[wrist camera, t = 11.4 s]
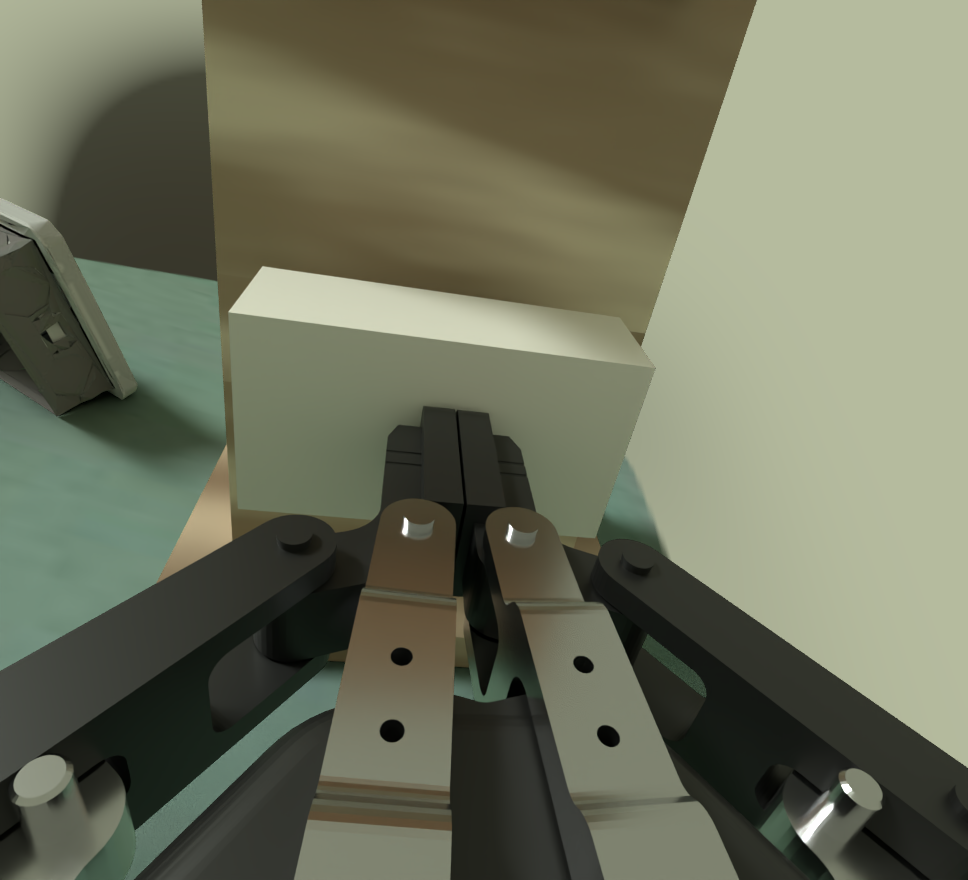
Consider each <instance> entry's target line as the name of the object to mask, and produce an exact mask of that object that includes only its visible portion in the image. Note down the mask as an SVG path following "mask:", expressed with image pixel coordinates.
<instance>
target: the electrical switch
mask: <svg viewBox="0 0 968 880" xmlns="http://www.w3.org/2000/svg"><path fill="white" fill-rule="evenodd" d="M22 368H25V369H22ZM19 369H20V370H19ZM2 370H3V371H2ZM0 379H2V380H3V381H5V382H6V383H8V384H9V385H11V386H12V387H14V388H15V389H17V390H18V391H20V392H21V393H23V394H24V395H26V396H27V397H29V398H31V399H32V400H34V401H35V402H37V403H38V404H40V405H41V406H43V407H44V408H46V409H47V410H49V411H50V412H52V413H53V414H55V415H56V416H59V415H61V414H63V413H64V412H66V411H68V410H69V409H71V408H73V407H75V406H76V405H78V404H80V403H82V402H84V401H87V400H90V399H93V398H94V397H96V396H97V395H99V394H100V393H102V392H104V391H109V392H110V393H112V394H114V395H115V396H117V397H118V398H120V399H122V400H123V399H124V398H126V397H127V396H129V395H130V394H132V393H133V392H135V391H136V390H137V385H138V384H137V382H136V380H135V378H134V376H133V374H132V372H131V370H130V368H129V366H128V364H127V362H126V360H125V358H124V356H123V354H122V352H121V350H120V348H119V346H118V344H117V342H116V340H115V338H114V336H113V334H112V332H111V330H110V328H109V326H108V324H107V322H106V320H105V318H104V316H103V314H102V312H101V310H100V308H99V306H98V304H97V302H96V300H95V298H94V296H93V294H92V292H91V290H90V288H89V286H88V285H87V283H86V281H85V279H84V277H83V275H82V273H81V271H80V269H79V267H78V265H77V263H76V261H75V260H74V258H73V256H72V254H71V252H70V250H69V248H68V246H67V244H66V242H65V240H64V238H63V236H62V235H61V234H60V233H59V232H58V230H57V229H56V228H55V227H54V226H53V225H52V224H51V222H50V221H49V220H47V219H45V218H43V217H40V216H38V215H36V214H34V213H32V212H30V211H28V210H25V209H23V208H21V207H19V206H17V205H15V204H13V203H11V202H8V201H6V200H4V199H2V198H0ZM38 390H40V392H41V393H40V392H39V391H38Z"/></svg>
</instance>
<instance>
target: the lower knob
mask: <svg viewBox="0 0 968 880" xmlns="http://www.w3.org/2000/svg"><path fill="white" fill-rule="evenodd" d="M228 318H229V339H230V359H231V380H232V401H233V421H234V442H235V463H236V484H237V504H238V509H245V510H257V511H269V512H281V513H293V514H306V515H318V516H330V517H342V518H354V519H366V520H373V519H374V518H375V517H376V516H377V515H378V513H379V511H380V507H381V496H382V486H383V477H384V467H385V458H386V448H387V439H388V435H389V434H390V433H391V432H392V431H393V430H394V429H395V428H396V427H397V426H398V425H406V426H416V427H420V423H421V416H422V409H423V406H430V407H439V408H448V409H455V412H456V411H457V410H466V411H475V412H484V413H489V417H490V422H491V427H492V433H493V435H502V436H509V437H510V438H511V439H512V440H513V441H514V442H515V444H516V445H517V446H518V447H519V448H520V449H521V452H522V456H523V460H524V466H525V468H526V472H527V478H528V480H529V484H530V488H531V492H532V496H533V500H534V504H535V508H536V512H537V513H539V514H541V515H543V516H544V517H545V518H547V519H548V520H549V521H550V522H551V523H552V524H553V525H554V527H555V528H556V530H557V533H558V535H560V536H572V537H584V538H595V537H596V535H597V532H598V529H599V526H600V523H601V521H602V518H603V515H604V512H605V509H606V507H607V504H608V501H609V498H610V495H611V492H612V490H613V487H614V484H615V481H616V478H617V476H618V473H619V470H620V467H621V464H622V462H623V459H624V456H625V453H626V450H627V447H628V444H629V442H630V439H631V436H632V433H633V431H634V428H635V425H636V422H637V419H638V416H639V413H640V411H641V408H642V405H643V402H644V399H645V397H646V394H647V391H648V388H649V386H650V383H651V380H652V377H653V374H654V371H655V369H656V368H655V366H654V365H653V364H652V362H651V361H650V359H649V358H648V356H647V355H646V354H645V352H644V351H643V349H642V348H641V347H640V345H639V344H638V342H637V341H636V340H635V338H634V337H633V335H632V334H631V332H630V331H629V330H628V328H627V327H626V325H625V324H624V323H623V321H622V320H621V318H620V317H613V316H606V315H599V314H592V313H585V312H578V311H571V310H564V309H557V308H550V307H543V306H536V305H529V304H522V303H515V302H508V301H501V300H494V299H487V298H480V297H473V296H466V295H459V294H452V293H445V292H438V291H431V290H424V289H417V288H410V287H403V286H396V285H389V284H382V283H375V282H369V281H362V280H355V279H348V278H341V277H334V276H327V275H320V274H313V273H306V272H299V271H292V270H285V269H278V268H271V267H264V266H262V268H261V269H260V270H259V272H258V273H257V274H256V276H255V277H254V278H253V280H252V281H251V282H250V284H249V285H248V286H247V288H246V289H245V290H244V292H243V293H242V294H241V296H240V297H239V298H238V300H237V301H236V302H235V304H234V305H233V306H232V308H231V309H230V310H229V312H228Z"/></svg>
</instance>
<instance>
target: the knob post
mask: <svg viewBox="0 0 968 880" xmlns="http://www.w3.org/2000/svg"><path fill="white" fill-rule="evenodd" d="M756 1H757V0H202V10H203V28H204V46H205V63H206V80H207V81H206V82H207V99H208V117H209V134H210V152H211V171H212V187H213V205H214V223H215V240H216V259H217V277H218V295H219V313H220V331H221V348H222V366H223V384H224V402H225V419H226V437H227V444H226V446H225V448H224V450H223V452H222V454H221V456H220V458H219V460H218V462H217V464H216V466H215V468H214V470H213V472H212V474H211V476H210V478H209V480H208V482H207V484H206V486H205V488H204V490H203V492H202V494H201V496H200V498H199V500H198V502H197V504H196V506H195V508H194V510H193V512H192V514H191V516H190V518H189V520H188V522H187V524H186V526H185V528H184V530H183V532H182V534H181V536H180V538H179V540H178V542H177V544H176V546H175V547H174V549H173V551H172V553H171V555H170V557H169V559H168V561H167V563H166V565H165V567H164V569H163V571H162V573H161V575H160V577H159V579H158V581H157V583H158V582H160V581H162V580H163V579H165V578H167V577H169V576H171V575H172V574H174V573H176V572H178V571H179V570H181V569H183V568H185V567H187V566H188V565H190V564H192V563H194V562H195V561H197V560H199V559H201V558H203V557H204V556H206V555H208V554H210V553H212V552H213V551H215V550H217V549H219V548H220V547H222V546H224V545H226V544H228V543H229V542H231V541H233V540H235V539H236V538H238V537H240V536H242V535H244V534H245V533H247V532H249V531H251V530H252V529H254V528H256V527H258V526H260V525H261V524H263V523H265V522H267V521H269V520H271V519H274V518H277V517H280V516H285V515H306V514H293V513H281V512H269V511H257V510H245V509H238V504H237V484H236V463H235V442H234V421H233V401H232V380H231V359H230V339H229V318H228V312H229V310H230V309H231V308H232V306H233V305H234V304H235V302H236V301H237V300H238V298H239V297H240V296H241V294H242V293H243V292H244V290H245V289H246V288H247V286H248V285H249V284H250V282H251V281H252V280H253V278H254V277H255V276H256V274H257V273H258V272H259V270H260V269H261V268H262V266H264V267H271V268H278V269H285V270H292V271H299V272H306V273H313V274H320V275H327V276H334V277H341V278H348V279H355V280H362V281H369V282H375V283H382V284H389V285H396V286H403V287H410V288H417V289H424V290H431V291H438V292H445V293H452V294H459V295H466V296H473V297H480V298H487V299H494V300H501V301H508V302H515V303H522V304H529V305H536V306H543V307H550V308H557V309H564V310H571V311H578V312H585V313H592V314H599V315H606V316H613V317H620V318H621V320H622V321H623V323H624V324H625V325H626V327H627V328H628V330H629V331H630V332H631V334H632V335H633V337H634V338H635V340H636V341H637V342H638V344H639V345H640V347H641V345H642V342H643V339H644V336H645V333H646V330H647V327H648V324H649V321H650V318H651V315H652V312H653V309H654V306H655V303H656V300H657V297H658V294H659V291H660V288H661V285H662V282H663V279H664V276H665V273H666V270H667V267H668V264H669V261H670V258H671V255H672V252H673V249H674V246H675V243H676V240H677V237H678V234H679V231H680V228H681V225H682V222H683V219H684V216H685V213H686V210H687V207H688V204H689V201H690V198H691V195H692V192H693V189H694V186H695V183H696V180H697V177H698V174H699V171H700V168H701V165H702V162H703V160H704V156H705V154H706V151H707V147H708V145H709V142H710V138H711V136H712V132H713V129H714V127H715V123H716V121H717V118H718V115H719V111H720V109H721V105H722V103H723V100H724V97H725V94H726V91H727V88H728V85H729V82H730V79H731V76H732V73H733V70H734V67H735V63H736V61H737V58H738V55H739V52H740V49H741V46H742V43H743V40H744V37H745V34H746V31H747V28H748V25H749V22H750V19H751V16H752V13H753V10H754V6H755V4H756ZM308 516H312V517H315V518H318V519H320V520H322V521H324V522H326V523H327V524H328V525H330V526H331V527H332V529H333V530H334V532H335V533H337V532H344V531H349V530H354V529H357V528H360V527H362V526H364V525H366V524H368V523H369V522H371V521H372V520H366V519H354V518H342V517H330V516H318V515H308ZM559 538H560V540H561V543H562V544H564V545H566V546H569V547H571V548H574V549H577V550H581V551H584V552H587V553H590V554H594V555H597V556H598V553H599V550H600V548H601V547H600V544H599V541H598V538H597V535H596V537H595V538H584V537H572V536H560V535H559ZM453 598H456V601H457V614H456V641H455V667H469V663H468V657H467V651H466V645H465V639H464V633H463V624H464V619H465V613H464V603H463V597H456V596H453ZM347 652H348V649H347V650H343V651H339V652H335V653H330V655H329V659H328V661H341V662H345V661H346V657H347Z"/></svg>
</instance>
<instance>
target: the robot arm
mask: <svg viewBox="0 0 968 880" xmlns="http://www.w3.org/2000/svg"><path fill="white" fill-rule="evenodd" d="M453 596H456V597H463V603H464V613H465V619H464V624H463V633H464V639H465V645H466V651H467V657H468V663H469V670H470V676H471V682H472V688H473V694H474V700H471V699H467V698H463V697H460V696H456V695H453V693H454V667H455V641H456V614H457V601H456V598H453ZM647 634H649V635H650V636H651V637H652V638H654V639H655V640H656V641H657V642H659V643H660V644H661V645H662V646H664V647H665V648H666V649H667V650H669V651H670V652H671V653H672V654H674V655H675V656H676V657H677V658H679V659H680V660H681V661H682V662H684V663H685V664H686V665H687V666H689V667H690V668H691V669H692V670H694V671H695V672H696V673H697V674H698V675H699V676H700V678H701V679H702V681H703V683H704V685H705V687H706V692H707V696H706V698H704V697H703V696H701V695H700V694H698V693H697V692H696V691H695V690H693V689H692V688H691V687H690V686H688V685H687V684H686V683H685V682H684V681H682V680H681V679H680V678H679V677H678V676H676V675H675V674H674V673H673V672H671V671H670V670H669V669H668V668H667V667H665V666H664V665H663V664H662V663H660V662H659V661H658V660H657V659H656V658H654V657H653V656H652V655H651V654H649V653H648V652H647V651H646V650H645V649H643V648H642V645H643V643H644V641H645V639H646V636H647ZM347 649H348V652H347V657H346V661H345V666H344V670H343V675H342V679H341V684H340V688H339V693H338V697H337V702H336V706H335V708H334V709H331V710H328V711H325V712H323V713H321V714H318V715H316V716H314V717H312V718H310V719H308V720H306V721H305V722H303V723H301V724H300V725H298V726H296V727H295V728H293V729H292V730H290V731H289V732H288V733H286V734H285V735H284V736H282V737H281V738H280V739H278V740H277V741H276V742H275V743H274V744H273V745H272V746H271V747H269V748H268V749H267V750H266V751H265V752H264V753H263V754H262V755H261V756H260V757H259V758H258V759H257V760H256V761H255V762H254V763H253V764H252V765H251V766H250V767H249V768H248V769H247V770H246V771H245V772H244V773H243V774H242V775H241V776H240V777H239V778H238V779H237V780H236V781H235V782H234V783H232V784H231V785H230V786H229V787H228V788H227V789H226V790H225V791H224V792H223V793H222V794H221V795H220V796H219V797H218V798H217V799H216V800H215V801H214V802H213V803H212V804H211V805H210V806H209V807H208V808H207V809H206V810H205V811H204V812H203V813H202V814H201V815H200V816H199V817H198V818H197V819H196V820H194V821H193V822H192V823H191V824H190V825H189V826H188V827H187V828H186V829H185V830H184V831H183V832H182V833H181V834H180V835H179V836H178V837H177V838H176V839H175V840H174V841H173V842H172V843H171V844H170V845H169V846H168V847H167V848H166V849H165V850H164V851H163V852H162V853H161V854H160V855H159V856H158V857H156V858H155V859H154V860H153V861H152V862H151V863H150V864H149V865H148V866H147V867H146V868H145V869H144V870H143V871H142V872H141V873H140V874H139V875H138V876H137V877H136V878H135V879H134V880H968V768H967V767H966V766H964V765H963V764H961V763H960V762H958V761H957V760H955V759H954V758H953V757H951V756H950V755H948V754H947V753H945V752H944V751H943V750H941V749H940V748H938V747H937V746H935V745H934V744H933V743H931V742H929V741H928V740H927V739H925V738H924V737H923V736H921V735H920V734H918V733H917V732H915V731H914V730H912V729H911V728H910V727H908V726H906V725H905V724H904V723H903V722H901V721H899V720H898V719H897V718H895V717H894V716H892V715H891V714H890V713H888V712H887V711H885V710H884V709H882V708H881V707H879V706H878V705H877V704H875V703H874V702H872V701H871V700H870V699H868V698H867V697H865V696H864V695H862V694H861V693H860V692H858V691H857V690H855V689H854V688H852V687H851V686H849V685H848V684H847V683H845V682H844V681H842V680H841V679H839V678H838V677H837V676H835V675H834V674H832V673H831V672H829V671H828V670H827V669H825V668H824V667H822V666H821V665H819V664H818V663H817V662H815V661H814V660H812V659H811V658H809V657H808V656H807V655H805V654H804V653H802V652H801V651H799V650H798V649H796V648H795V647H793V646H792V645H790V644H789V643H788V642H786V641H785V640H784V639H782V638H780V637H779V636H778V635H776V634H775V633H773V632H772V631H771V630H769V629H768V628H766V627H765V626H764V625H762V624H761V623H759V622H758V621H756V620H755V619H753V618H752V617H750V616H749V615H747V614H746V613H745V612H743V611H742V610H741V609H739V608H738V607H736V606H735V605H733V604H732V603H731V602H729V601H728V600H726V599H725V598H723V597H722V596H721V595H719V594H718V593H716V592H715V591H713V590H712V589H710V588H709V587H708V586H706V585H705V584H703V583H702V582H700V581H699V580H698V579H696V578H694V577H693V576H692V575H690V574H689V573H688V572H686V571H685V570H683V569H682V568H680V567H679V566H678V565H676V564H675V563H673V562H672V561H670V560H669V559H668V558H666V557H665V556H663V555H662V554H660V553H659V552H657V551H656V550H654V549H653V548H651V547H649V546H647V545H645V544H643V543H640V542H637V541H633V540H628V539H615V540H611V541H608V542H606V543H605V544H604V545H602V547H601V548H600V550H599V553H598V556H597V555H594V554H590V553H587V552H584V551H581V550H577V549H574V548H571V547H569V546H566V545H564V544H562V543H561V540H560V538H559V535H558V533H557V530H556V528H555V527H554V525H553V524H552V523H551V522H550V521H549V520H548V519H547V518H545V517H544V516H543V515H541V514H539V513H537V512H536V508H535V504H534V500H533V496H532V492H531V488H530V484H529V480H528V478H527V472H526V468H525V466H524V460H523V456H522V452H521V449H520V448H519V447H518V446H517V445H516V444H515V442H514V441H513V440H512V439H511V438H510V437H509V436H502V435H493V433H492V427H491V422H490V417H489V413H484V412H475V411H466V410H457V411H456V412H455V409H448V408H439V407H430V406H423V409H422V416H421V423H420V427H416V426H406V425H398V426H397V427H396V428H395V429H394V430H393V431H392V432H391V433H390V434H389V435H388V439H387V448H386V458H385V467H384V477H383V486H382V496H381V507H380V511H379V513H378V515H377V516H376V517H375V518H374V519H373V520H372V521H371V522H369V523H368V524H366V525H364V526H362V527H360V528H357V529H354V530H349V531H344V532H337V533H335V532H334V530H333V529H332V527H331V526H330V525H328V524H327V523H326V522H324V521H322V520H320V519H318V518H315V517H312V516H308V515H285V516H280V517H277V518H274V519H271V520H269V521H267V522H265V523H263V524H261V525H260V526H258V527H256V528H254V529H252V530H251V531H249V532H247V533H245V534H244V535H242V536H240V537H238V538H236V539H235V540H233V541H231V542H229V543H228V544H226V545H224V546H222V547H220V548H219V549H217V550H215V551H213V552H212V553H210V554H208V555H206V556H204V557H203V558H201V559H199V560H197V561H195V562H194V563H192V564H190V565H188V566H187V567H185V568H183V569H181V570H179V571H178V572H176V573H174V574H172V575H171V576H169V577H167V578H165V579H163V580H162V581H160V582H158V583H156V584H155V585H153V586H151V587H149V588H147V589H146V590H144V591H142V592H140V593H138V594H137V595H135V596H133V597H131V598H130V599H128V600H126V601H124V602H122V603H121V604H119V605H117V606H115V607H114V608H112V609H110V610H108V611H106V612H105V613H103V614H101V615H99V616H98V617H96V618H94V619H92V620H90V621H89V622H87V623H85V624H83V625H81V626H80V627H78V628H76V629H74V630H73V631H71V632H69V633H67V634H65V635H64V636H62V637H60V638H58V639H57V640H55V641H53V642H51V643H49V644H48V645H46V646H44V647H42V648H41V649H39V650H37V651H35V652H33V653H32V654H30V655H28V656H26V657H24V658H23V659H21V660H19V661H17V662H16V663H14V664H12V665H10V666H8V667H7V668H5V669H3V670H1V671H0V880H124V879H125V877H126V875H127V873H128V871H129V869H130V867H131V864H132V861H133V859H134V854H135V849H136V836H135V830H136V829H137V828H139V827H140V826H141V825H142V824H143V823H144V822H145V821H147V820H148V819H149V818H150V817H151V816H152V815H154V814H155V813H156V812H157V811H158V810H159V809H161V808H162V807H163V806H164V805H165V804H166V803H168V802H169V801H170V800H171V799H172V798H173V797H174V796H176V795H177V794H178V793H179V792H180V791H181V790H183V789H184V788H185V787H186V786H187V785H188V784H190V783H191V782H192V781H193V780H194V779H195V778H197V777H198V776H199V775H200V774H201V773H202V772H203V771H205V770H206V769H207V768H208V767H209V766H210V765H212V764H213V763H214V762H215V761H216V760H217V759H219V758H220V757H221V756H222V755H223V754H224V753H225V752H227V751H228V750H229V749H230V748H231V747H232V746H234V745H235V744H236V743H237V742H238V741H239V740H241V739H242V738H243V737H244V736H245V735H246V734H248V733H249V732H250V731H251V730H252V729H253V728H254V727H256V726H257V725H258V724H259V723H260V722H261V721H263V720H264V719H265V718H266V717H267V716H268V715H270V714H271V713H272V712H273V711H274V710H275V709H277V708H278V707H279V706H280V705H281V704H282V703H283V702H285V701H286V700H287V699H288V698H289V697H290V696H292V695H293V694H294V693H295V692H296V691H297V690H299V689H300V688H301V687H302V686H303V685H304V684H305V683H307V682H308V681H309V680H310V679H311V678H312V677H314V676H315V675H316V674H317V673H318V672H319V671H320V670H321V669H322V668H323V667H324V666H325V664H326V663H327V661H328V659H329V655H330V653H335V652H339V651H343V650H347Z"/></svg>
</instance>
